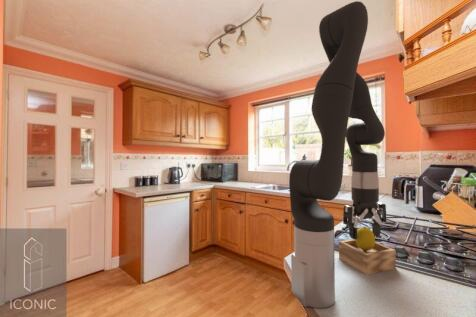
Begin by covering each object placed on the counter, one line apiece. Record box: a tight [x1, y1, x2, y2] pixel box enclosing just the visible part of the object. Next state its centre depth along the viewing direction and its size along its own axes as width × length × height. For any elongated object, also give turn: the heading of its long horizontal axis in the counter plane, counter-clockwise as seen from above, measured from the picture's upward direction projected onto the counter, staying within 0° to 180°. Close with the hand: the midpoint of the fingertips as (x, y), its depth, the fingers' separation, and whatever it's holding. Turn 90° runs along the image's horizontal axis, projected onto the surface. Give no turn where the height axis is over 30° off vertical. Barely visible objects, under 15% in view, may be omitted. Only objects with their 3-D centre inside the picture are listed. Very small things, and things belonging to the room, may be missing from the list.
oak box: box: [338, 238, 397, 275], centre depth 72 cm, size 11×11×6 cm
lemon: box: [355, 226, 376, 252], centre depth 72 cm, size 6×6×8 cm
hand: (365, 237), depth 72 cm, fingers open, 8 cm apart
